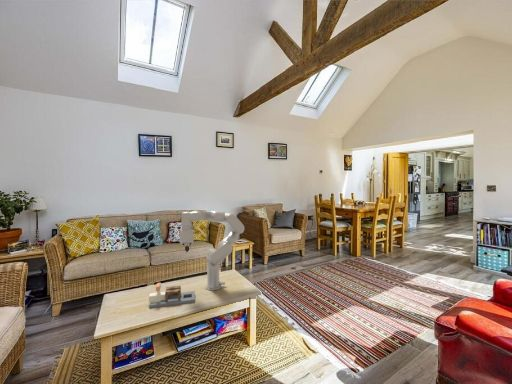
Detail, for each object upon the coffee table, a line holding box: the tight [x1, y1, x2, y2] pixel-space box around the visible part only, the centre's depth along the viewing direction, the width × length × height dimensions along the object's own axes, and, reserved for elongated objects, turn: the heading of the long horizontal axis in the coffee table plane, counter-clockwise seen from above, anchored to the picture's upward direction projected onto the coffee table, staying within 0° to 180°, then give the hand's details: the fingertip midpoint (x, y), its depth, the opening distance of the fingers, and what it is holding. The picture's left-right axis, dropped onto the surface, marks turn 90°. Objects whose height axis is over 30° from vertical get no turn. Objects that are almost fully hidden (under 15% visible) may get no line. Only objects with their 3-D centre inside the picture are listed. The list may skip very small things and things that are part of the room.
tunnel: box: [164, 285, 182, 302], centre depth 177 cm, size 10×9×6 cm
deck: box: [149, 291, 196, 309], centre depth 177 cm, size 30×14×2 cm, turn 105°
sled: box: [148, 282, 165, 303], centre depth 174 cm, size 12×7×10 cm, turn 105°
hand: (187, 251), depth 189 cm, fingers closed
